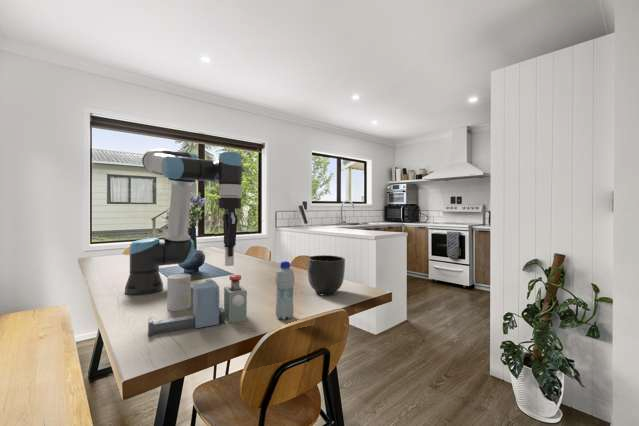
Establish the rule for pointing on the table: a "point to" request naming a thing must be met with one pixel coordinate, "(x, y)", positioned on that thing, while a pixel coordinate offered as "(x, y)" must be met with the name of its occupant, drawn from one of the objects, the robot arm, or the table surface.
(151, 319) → the rail
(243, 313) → the cabinet
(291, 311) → the bottle
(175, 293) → the cup
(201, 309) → the carriage
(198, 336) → the table surface
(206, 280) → the frog figurine
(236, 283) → the plunger
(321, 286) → the planter
